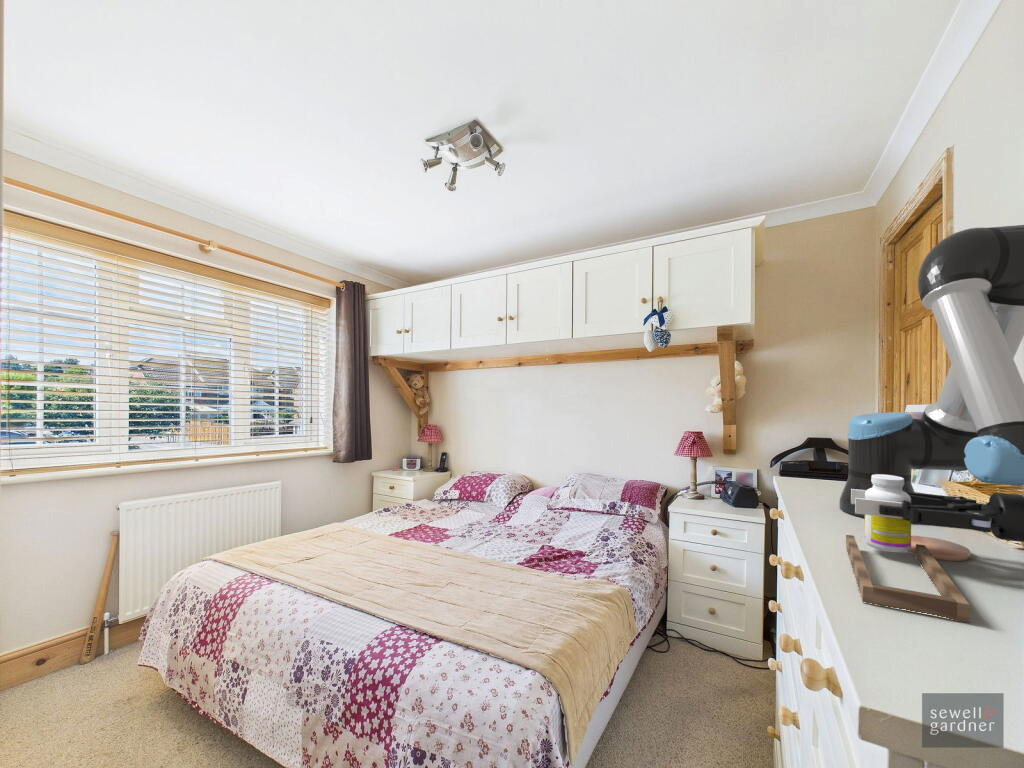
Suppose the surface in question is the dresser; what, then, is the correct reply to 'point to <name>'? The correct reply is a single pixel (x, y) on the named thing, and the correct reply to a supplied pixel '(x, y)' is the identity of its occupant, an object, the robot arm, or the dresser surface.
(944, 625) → the dresser surface
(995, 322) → the robot arm
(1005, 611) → the dresser surface
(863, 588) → the walnut channel
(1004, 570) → the dresser surface
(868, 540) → the supplement bottle
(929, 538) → the pink round coaster
